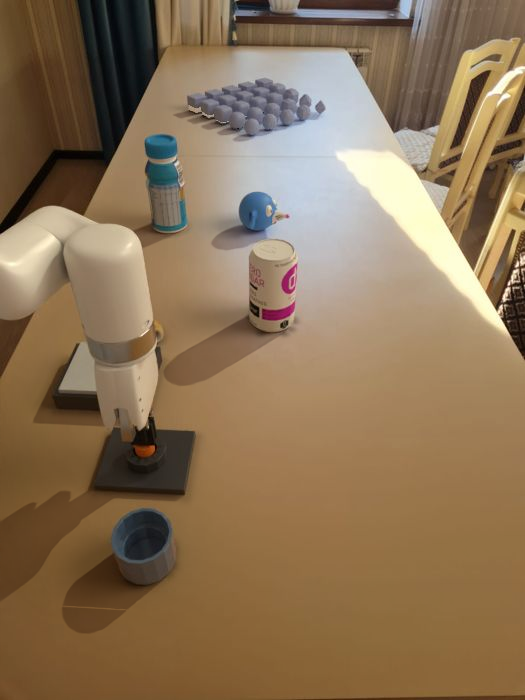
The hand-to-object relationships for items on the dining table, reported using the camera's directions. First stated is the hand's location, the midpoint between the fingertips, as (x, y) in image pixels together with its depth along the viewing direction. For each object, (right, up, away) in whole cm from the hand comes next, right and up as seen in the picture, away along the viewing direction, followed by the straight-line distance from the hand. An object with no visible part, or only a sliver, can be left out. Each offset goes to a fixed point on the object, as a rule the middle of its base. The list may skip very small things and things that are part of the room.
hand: (144, 440), depth 72 cm
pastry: (-6, +14, +24) cm, 28 cm away
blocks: (+14, +94, +114) cm, 148 cm away
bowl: (+2, -13, -7) cm, 15 cm away
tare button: (0, -2, +1) cm, 2 cm away
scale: (-8, +7, +15) cm, 18 cm away
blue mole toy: (+16, +40, +53) cm, 68 cm away
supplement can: (+17, +17, +28) cm, 37 cm away
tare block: (0, -4, +3) cm, 5 cm away
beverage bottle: (-6, +41, +54) cm, 68 cm away
